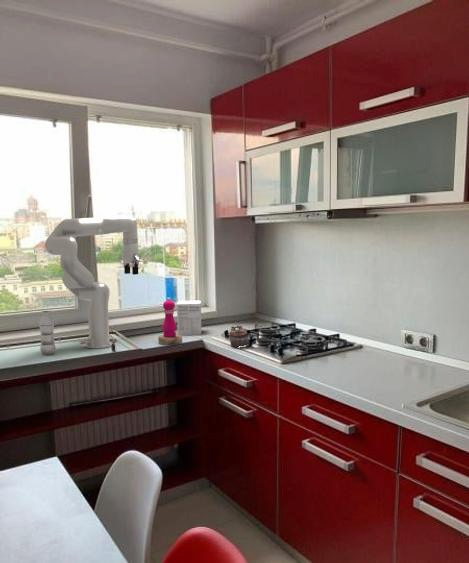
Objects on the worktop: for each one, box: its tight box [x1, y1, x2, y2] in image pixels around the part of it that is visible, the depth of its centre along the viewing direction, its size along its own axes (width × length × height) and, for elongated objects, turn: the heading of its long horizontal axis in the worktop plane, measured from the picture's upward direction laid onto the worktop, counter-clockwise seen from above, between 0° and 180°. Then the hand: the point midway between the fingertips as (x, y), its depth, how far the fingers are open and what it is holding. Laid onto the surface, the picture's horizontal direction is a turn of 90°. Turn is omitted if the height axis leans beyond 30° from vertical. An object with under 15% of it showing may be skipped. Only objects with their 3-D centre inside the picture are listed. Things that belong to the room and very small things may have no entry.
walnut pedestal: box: [157, 333, 183, 346], centre depth 236 cm, size 12×12×3 cm
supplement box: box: [176, 300, 202, 336], centre depth 259 cm, size 13×13×18 cm
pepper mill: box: [162, 297, 178, 337], centre depth 235 cm, size 7×7×20 cm
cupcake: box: [228, 324, 250, 349], centre depth 224 cm, size 10×10×10 cm
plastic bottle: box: [38, 310, 56, 356], centre depth 212 cm, size 6×7×20 cm
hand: (131, 274), depth 246 cm, fingers open, 9 cm apart
